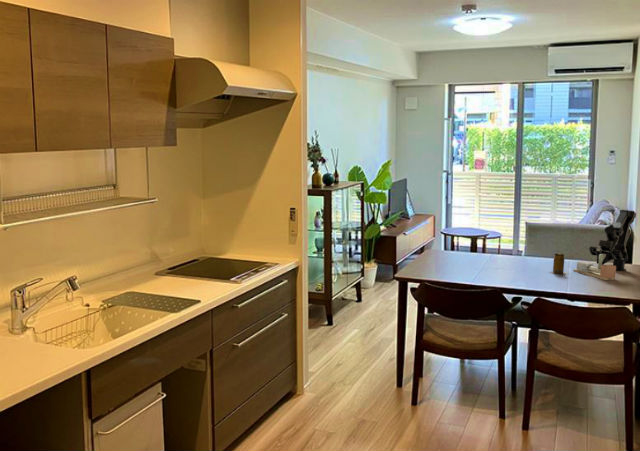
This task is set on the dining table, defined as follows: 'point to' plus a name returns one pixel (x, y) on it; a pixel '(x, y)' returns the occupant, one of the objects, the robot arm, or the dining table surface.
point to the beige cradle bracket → (595, 269)
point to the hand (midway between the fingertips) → (599, 263)
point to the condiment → (558, 264)
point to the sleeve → (583, 266)
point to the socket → (608, 271)
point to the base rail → (593, 274)
